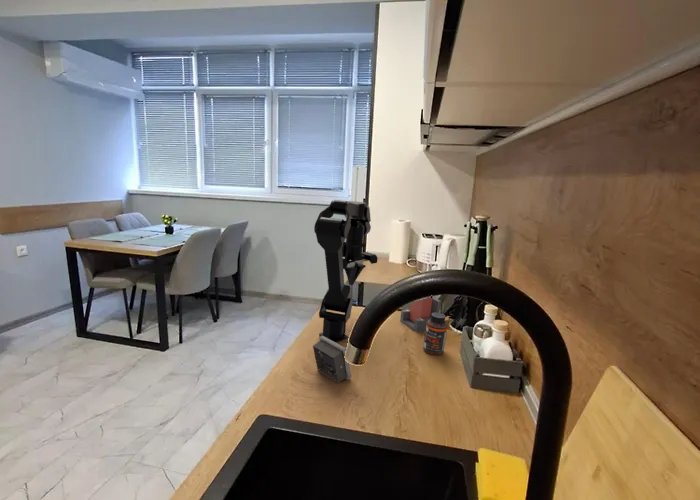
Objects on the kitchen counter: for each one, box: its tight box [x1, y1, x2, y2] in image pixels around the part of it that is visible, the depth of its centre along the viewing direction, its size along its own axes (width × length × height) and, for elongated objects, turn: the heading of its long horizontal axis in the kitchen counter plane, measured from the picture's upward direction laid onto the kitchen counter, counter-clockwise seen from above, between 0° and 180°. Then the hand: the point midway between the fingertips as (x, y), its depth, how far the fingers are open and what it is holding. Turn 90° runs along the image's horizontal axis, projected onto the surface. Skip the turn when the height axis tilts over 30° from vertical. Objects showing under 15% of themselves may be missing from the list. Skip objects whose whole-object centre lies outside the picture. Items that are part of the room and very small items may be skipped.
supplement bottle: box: [422, 312, 448, 355], centre depth 111 cm, size 6×6×11 cm
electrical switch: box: [312, 336, 352, 384], centre depth 93 cm, size 9×5×9 cm, turn 45°
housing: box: [399, 296, 442, 333], centre depth 129 cm, size 8×10×10 cm
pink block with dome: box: [409, 296, 434, 322], centre depth 128 cm, size 4×6×11 cm
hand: (351, 284), depth 129 cm, fingers closed
